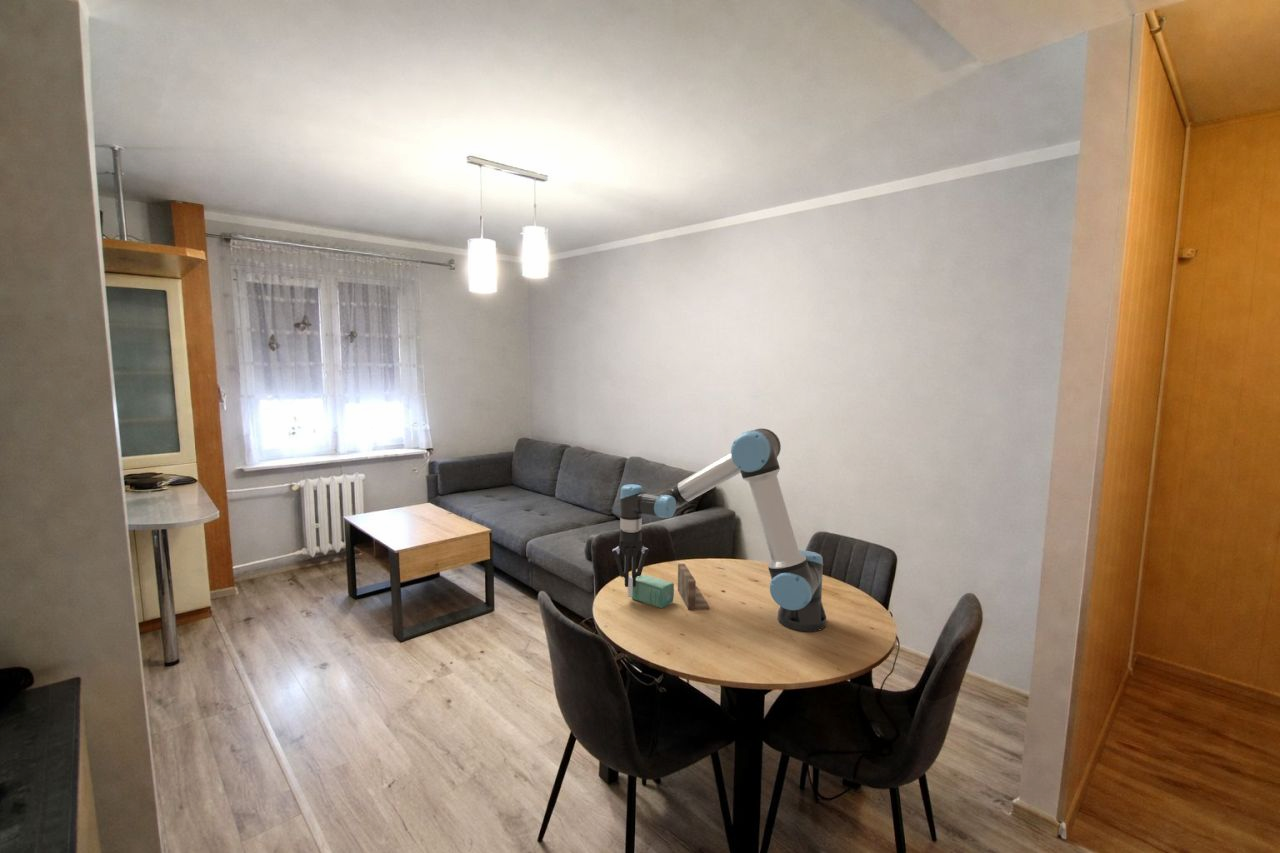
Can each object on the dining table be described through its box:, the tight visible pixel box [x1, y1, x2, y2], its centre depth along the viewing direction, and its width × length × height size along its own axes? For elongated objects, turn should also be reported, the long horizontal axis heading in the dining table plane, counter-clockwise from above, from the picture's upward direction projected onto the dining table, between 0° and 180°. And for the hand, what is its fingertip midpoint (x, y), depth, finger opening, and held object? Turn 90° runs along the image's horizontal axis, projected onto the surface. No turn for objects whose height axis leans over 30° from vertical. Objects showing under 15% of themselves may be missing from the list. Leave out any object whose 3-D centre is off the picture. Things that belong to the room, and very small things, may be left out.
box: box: [631, 574, 675, 609], centre depth 194 cm, size 7×14×8 cm, turn 52°
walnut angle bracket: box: [677, 563, 710, 611], centre depth 196 cm, size 18×7×10 cm, turn 8°
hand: (629, 595), depth 193 cm, fingers closed
